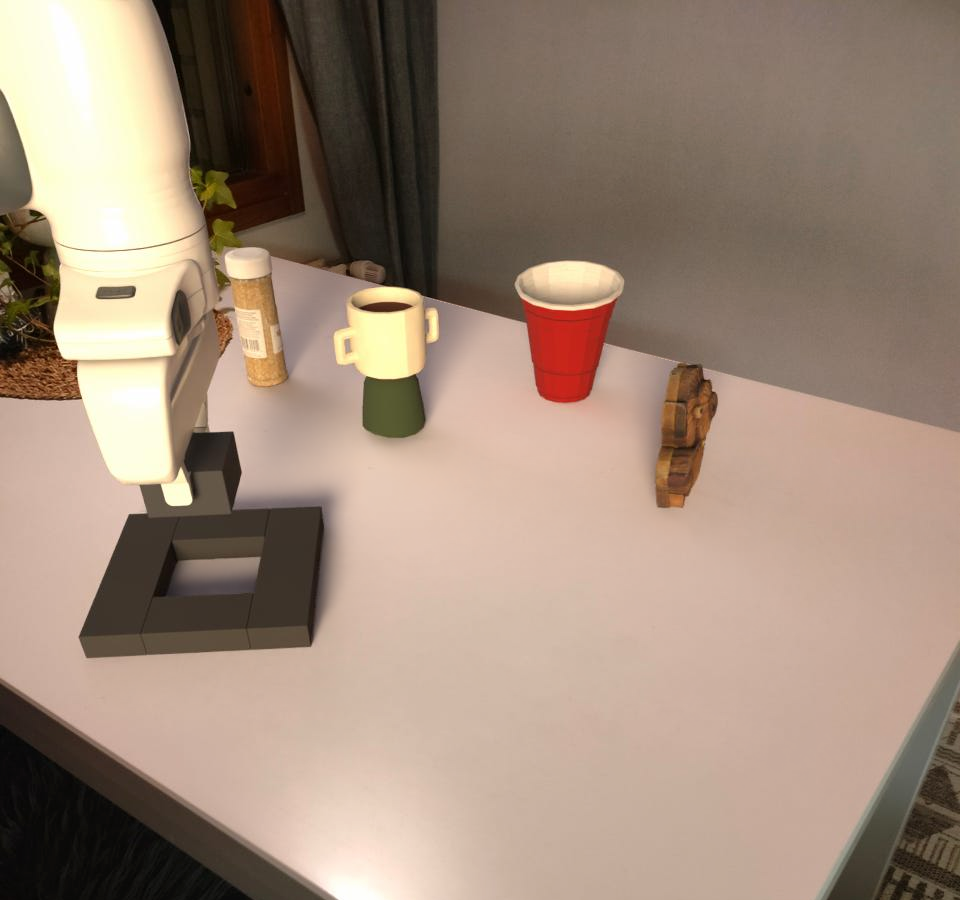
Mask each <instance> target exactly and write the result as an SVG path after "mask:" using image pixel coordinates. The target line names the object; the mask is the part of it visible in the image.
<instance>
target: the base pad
mask: <svg viewBox="0 0 960 900" xmlns="http://www.w3.org/2000/svg"><path fill="white" fill-rule="evenodd" d="M324 531H325V522H324V515H323V507H322V505H317V506H316V505H315V506H294V507H293V506H291V507H289V506H288V507H271V508H269V507H268V508H243V509H242V508H241V509H233V510H232V514H222V515H201V516H179V517H158V518H149V517H148V513H147V512H146V513H129V514H128V515H127V518H126V520H125V522H124V525H123V527H122V529H121V532H120V535H119V537H118V540H117V542H116V545H115V547H114V549H113V552H112V553H111V554H112V555H111V556H110V559H109V562H108V564H107V567H106V569H105V571H104V574H103V576H102V579H101V581H100V583H99V586H98V589H97V590H96V593H95V595H94V598H93V600H92V603H91V605H90V608H89V611H88V613H87V615H86V617H85V620H84V622H83V625H82V627H81V631H80V632H79V635H78V640H79V642H80V646H81V648H82V651H83V652H84V656H85V658H86V659H96V658H119V657H136V656H137V657H138V656H139V657H140V656H152V655H153V656H155V655H156V656H157V655H172V654H173V655H174V654H176V655H177V654H195V653H197V654H198V653H216V652H217V653H218V652H234V651H235V652H236V651H250V650H252V651H253V650H275V649H297V648H311V647H312V641H313V631H314V624H315V623H314V622H315V614H316V605H317V604H316V603H317V596H318V586H319V576H320V567H321V559H322V549H323V539H324ZM239 558H241V559H242V558H243V559H245V558H260V559H259V563H258V569H257V574H256V580H255V585H254V590H253V592H240V593H237V592H236V593H218V594H217V593H216V594H195V595H173V596H167V593H168V590H169V587H170V584H171V580H172V576H173V573H174V571H175V567H176V564H177V561H194V560H195V561H196V560H197V561H198V560H217V559H218V560H219V559H239Z"/></svg>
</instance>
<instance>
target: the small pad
mask: <svg viewBox="0 0 960 900" xmlns="http://www.w3.org/2000/svg"><path fill="white" fill-rule="evenodd" d="M184 464H185V467H186V469H187V472H191V474H192V478H193V482H194V486H195V494H194V497H193V500H192V503H191V504H190V505H185V506H171V505H169V504H168V503H167V502H166V501H165V497H164V493H163V490H162V486H161V484H152V485H138V486H139V489H140V492H141V497H142V500H143V503H144V506H145V510H146V513H148V517H149V518H158V517H179V516H201V515H222V514H232V510H234V509H233V508H234V505H235V501H236V497H237V494H238V490H239V485H240V482H241V477H242V474H243V471H242V466H241V460H240V456H239V452H238V446H237V441H236V437H235V432H234V431H233V430H232V431H214V432H213V431H210V432H205V433H193V434H192V436H191V439H190V442H189V445H188V447H187V450H186V453H185V459H184Z"/></svg>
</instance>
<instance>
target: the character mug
mask: <svg viewBox="0 0 960 900" xmlns="http://www.w3.org/2000/svg"><path fill="white" fill-rule="evenodd" d="M424 299H425V298H424V296H423V295H421V293H420V292H419V291H416V290H413V289H410V288H406V287H399V286H376V287H368V288H364V289H361V290H359V291H355V292H354V293H353V294H351V295H350V296H348V298H347V302H346V316H347V327H345V328H341V329H338V330H336V331H334V333H333V345H334V352H335V353H334V354H335V360H336V362H337V365H339V366H346V365H350V364H354V366H355V368H356V369H357V370H358V372H359V373H361V374H362V375H364V376H365V378H364V380H363V389H362V390H363V391H362V406H361V409H362V411H361V413H362V414H361V415H362V417H361V418H362V427H363V428H364V429H365V431H367V432H369V433H370V434H373V435H376V436H379V437H383V438H388V439H404V438H408V437H411V436H415V435H417V434H418V433H419V432H420V431H421V430H422V429H424V428H425V425H426V419H427V418H426V412H425V406H424V400H423V395H422V391H421V385H420V380H419V378H418V376H417V374H418V373H420V372H421V371H422V370H423V369H424V368H425V366H426V360H427V345H428V344H431V343H434V342H436V341H438V340H439V337H440V327H439V325H440V324H439V313H438V310H437V307H428V308H425V300H424ZM426 320H428V332H426ZM348 339H349V348H350V352H347V353H346V344H345V340H348Z"/></svg>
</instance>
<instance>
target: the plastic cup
mask: <svg viewBox="0 0 960 900" xmlns="http://www.w3.org/2000/svg"><path fill="white" fill-rule="evenodd" d="M625 281H626V280H625V279H624V278H623V276H622V275H621V273H620V272H619V271H617V270H615V269H613V268H611V267H609V266H608V265H604V264H602V263H597V262H592V261H587V260H571V259H570V260H569V259H565V260H556V261H549V262H548V261H547V262H543V263H540V264H536V265H534V266H531V267H529V268H527V269H525V270H524V271H523V272H521V273H519V274H518V275H517V278H516V280H515V282H514V287H515V290H516V293H517V294H518V295H519V297H520V301H521V304H522V308H523V313H524V314H525V322H526V330H527V336H528V342H529V351H530V358H531V362H532V365H533V374H534V381H535V382H534V383H535V386H536V389H537V393H538V394H539V396H540V397H542V398H543V399H545V400H546V401H547V400H548V401H550V402H554V403H562V404H563V403H564V404H569V403H578V402H580V401H583V400H585V399H587V398H588V397H589V396H590V395H591V391H592V390H593V386H594V382H595V378H596V373H597V370H598V368H599V364H600V362H601V357H602V353H603V349H604V346H605V341H606V338H607V337H606V336H607V332H608V329H609V325H610V321H611V318H612V315H613V313H614V309H615V307H616V304H617V303H616V302H617V300H618V299H619V296H621V295H622V293H623V291H624V286H625Z"/></svg>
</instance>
